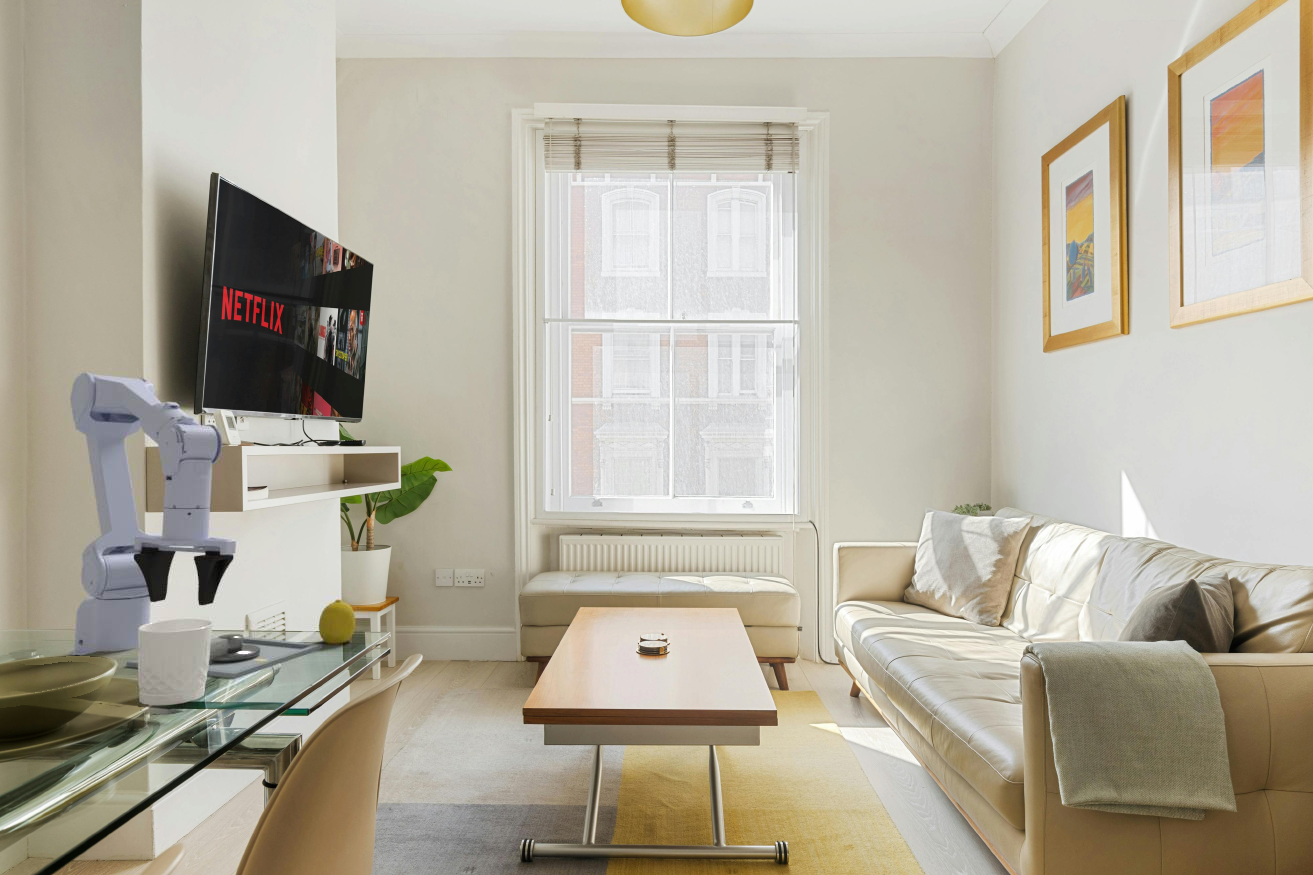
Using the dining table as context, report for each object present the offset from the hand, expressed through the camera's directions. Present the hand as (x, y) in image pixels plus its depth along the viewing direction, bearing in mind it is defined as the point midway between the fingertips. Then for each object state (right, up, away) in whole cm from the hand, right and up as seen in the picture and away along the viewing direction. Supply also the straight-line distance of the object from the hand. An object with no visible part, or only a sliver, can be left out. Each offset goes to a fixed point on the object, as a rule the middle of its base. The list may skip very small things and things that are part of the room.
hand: (181, 602), depth 111 cm
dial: (+4, -9, +3) cm, 10 cm away
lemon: (+16, -11, +16) cm, 25 cm away
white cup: (+8, -10, -15) cm, 20 cm away
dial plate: (+5, -10, +4) cm, 12 cm away
